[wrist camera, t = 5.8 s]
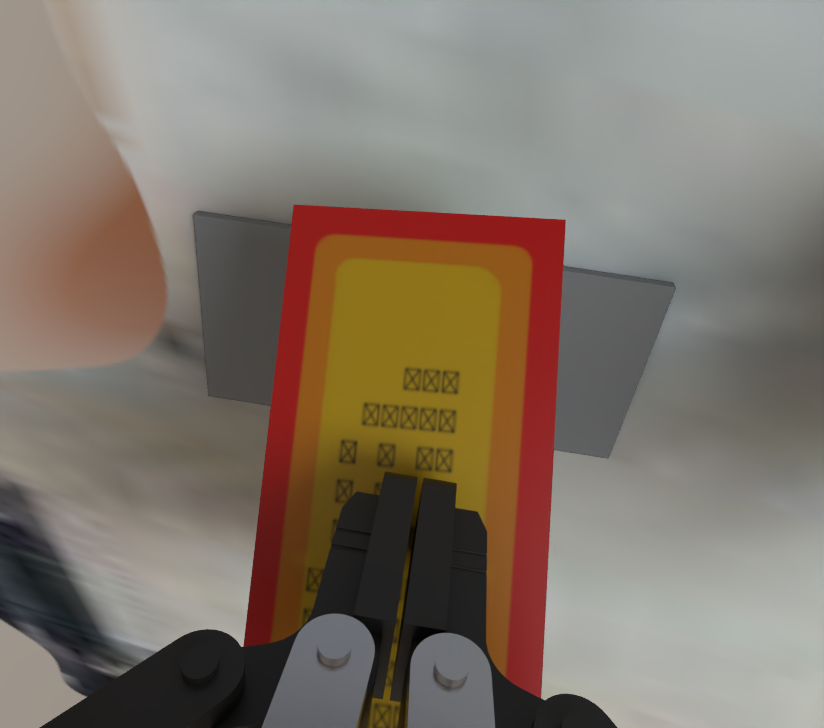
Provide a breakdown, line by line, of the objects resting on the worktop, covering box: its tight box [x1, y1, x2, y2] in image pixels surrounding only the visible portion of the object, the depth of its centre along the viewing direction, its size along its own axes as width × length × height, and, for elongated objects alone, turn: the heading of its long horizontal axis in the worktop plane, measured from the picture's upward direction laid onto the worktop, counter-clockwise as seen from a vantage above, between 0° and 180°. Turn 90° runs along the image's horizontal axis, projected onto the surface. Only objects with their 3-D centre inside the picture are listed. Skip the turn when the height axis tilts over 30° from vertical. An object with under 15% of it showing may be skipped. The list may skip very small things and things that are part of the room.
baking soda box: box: [244, 205, 566, 728], centre depth 19 cm, size 10×6×16 cm
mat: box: [194, 211, 676, 458], centre depth 26 cm, size 8×18×1 cm, turn 83°
